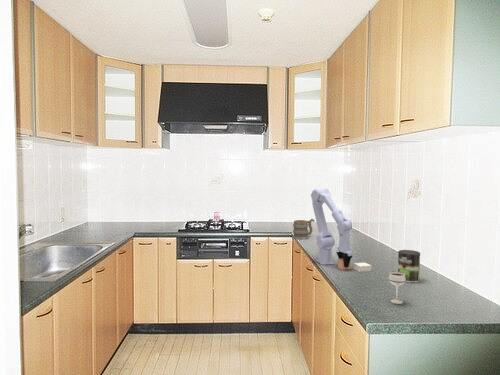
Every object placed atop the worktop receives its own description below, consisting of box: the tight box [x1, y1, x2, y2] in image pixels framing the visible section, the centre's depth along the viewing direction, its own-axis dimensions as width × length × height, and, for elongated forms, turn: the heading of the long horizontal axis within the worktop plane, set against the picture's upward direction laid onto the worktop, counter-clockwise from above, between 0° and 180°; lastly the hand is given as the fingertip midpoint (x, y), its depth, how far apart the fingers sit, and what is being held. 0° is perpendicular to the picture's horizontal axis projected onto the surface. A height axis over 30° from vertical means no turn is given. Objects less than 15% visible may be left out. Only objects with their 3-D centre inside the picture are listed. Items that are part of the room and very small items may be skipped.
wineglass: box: [388, 270, 406, 305], centre depth 158 cm, size 7×7×12 cm
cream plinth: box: [353, 262, 372, 273], centre depth 208 cm, size 7×7×3 cm
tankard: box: [291, 218, 316, 241], centre depth 304 cm, size 20×13×15 cm, turn 114°
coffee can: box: [397, 249, 421, 284], centre depth 189 cm, size 10×10×14 cm
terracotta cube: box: [337, 258, 351, 271], centre depth 211 cm, size 5×5×5 cm
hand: (344, 265), depth 211 cm, fingers closed on terracotta cube, 5 cm apart
